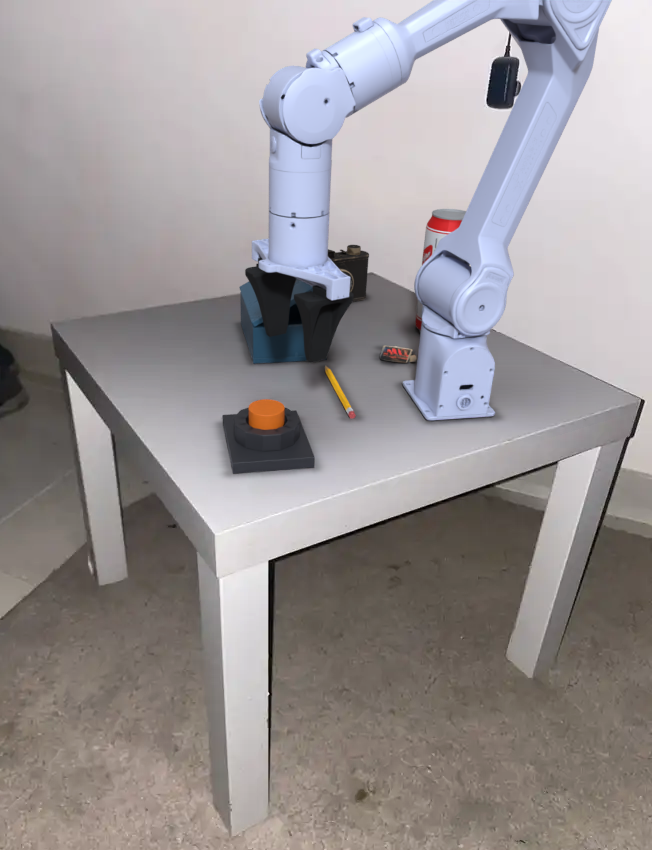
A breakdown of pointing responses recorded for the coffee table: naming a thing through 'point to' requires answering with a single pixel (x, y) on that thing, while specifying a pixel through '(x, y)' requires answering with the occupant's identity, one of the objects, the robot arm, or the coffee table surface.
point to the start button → (266, 414)
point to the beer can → (438, 238)
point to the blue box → (274, 339)
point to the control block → (266, 444)
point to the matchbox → (397, 354)
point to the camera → (353, 268)
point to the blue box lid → (253, 303)
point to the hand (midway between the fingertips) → (295, 346)
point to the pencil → (340, 393)
